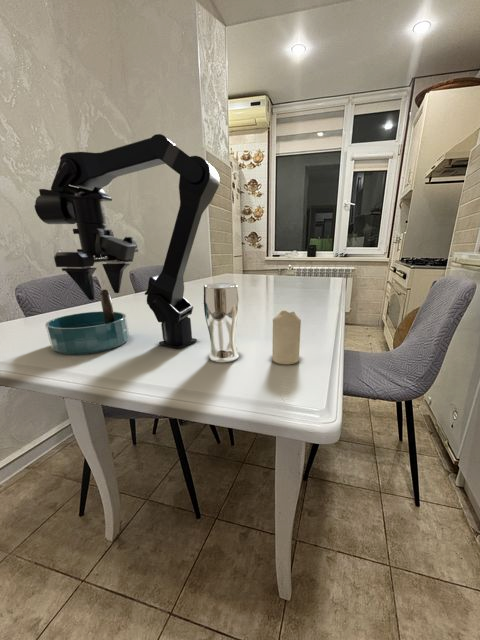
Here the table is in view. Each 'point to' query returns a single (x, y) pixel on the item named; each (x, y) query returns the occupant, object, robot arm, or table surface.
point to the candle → (286, 338)
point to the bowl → (86, 333)
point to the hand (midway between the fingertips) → (105, 296)
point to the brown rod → (107, 306)
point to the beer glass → (222, 320)
